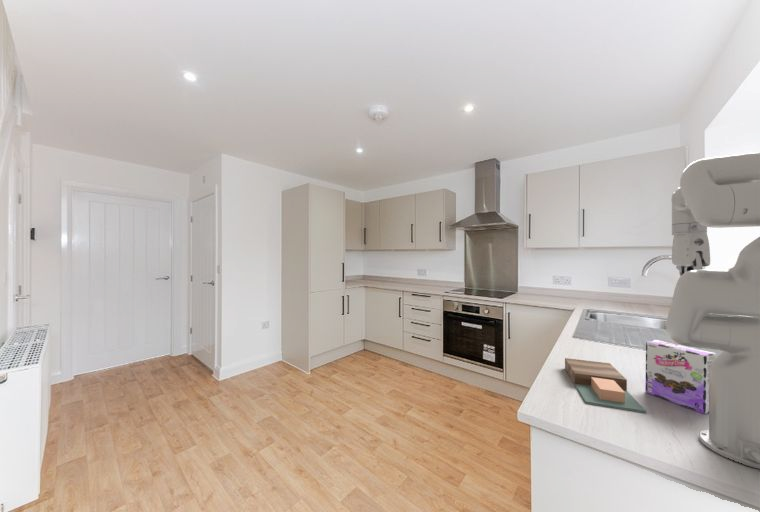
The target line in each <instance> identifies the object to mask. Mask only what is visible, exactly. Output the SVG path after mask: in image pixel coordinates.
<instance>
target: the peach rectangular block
mask: <svg viewBox="0 0 760 512" xmlns="http://www.w3.org/2000/svg"><path fill="white" fill-rule="evenodd" d="M591 387H592V388H593V390H594V391H595V392H596V394H597V395H598V397H599V398H600V399H604V400H610V401H616V402H623V403H625V392H624V391H623V390H622V389H621V387H620V386H619V385H618V384H617V383H616V382H615V381H614V380H609V379H602V378H594V377H591Z"/></svg>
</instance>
